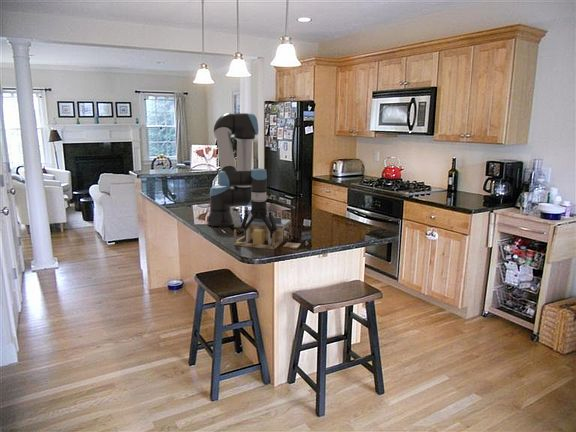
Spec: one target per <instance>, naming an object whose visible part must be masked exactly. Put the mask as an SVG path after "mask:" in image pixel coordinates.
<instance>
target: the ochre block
mask: <svg viewBox="0 0 576 432" xmlns="http://www.w3.org/2000/svg"><path fill="white" fill-rule="evenodd" d="M265 243H266V242H265V229H255V230H253V239H252V244H262V245H265Z"/></svg>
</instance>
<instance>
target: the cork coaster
mask: <svg viewBox="0 0 576 432" xmlns="http://www.w3.org/2000/svg"><path fill="white" fill-rule="evenodd" d="M301 245H302V243H298V242H297V243H296V242H290V241H289V242H288V241H287V242H286V243H285V244H284V245H283V246H282V247H283V248H288V249H298V248H300V246H301Z"/></svg>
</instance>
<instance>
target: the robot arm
mask: <svg viewBox="0 0 576 432" xmlns="http://www.w3.org/2000/svg"><path fill="white" fill-rule="evenodd" d="M213 126H214V127H213V136H214V138H215V139H216V143H217V144H216V145H217V152H218V157H219V165H220V171H218V173H217V180H218V181H217V183H218V184H216V185H213V186H211V187H210V189H209V202H210V203H209V209H210V211H209V215H208V218H207V226H209V225H211V226H210V227H212V226H219V227H218V228H225V227H231V226H233V225H234V218H233V216H232V213H231V207H248V206H250V209H245V210H244V216H243V219H242V222H241V225H240V229H243V236H244V235H245V236H246V239H245V243H250V239H249V229H248V227H249V226H250V224H251V223H252V222H253V220H254V219H262V220H263V221H264V222H265V224H266V226H267V227H268V229H269V232H268V241H267V242H268V243H267V245H272V234H273V232H274V231H276V230H277V227H276V224H275V221H274V218H273V217H274V216H273V215H274V213H273V210H271V211H268V210H267V186H268V184H267V182H268V180H267V179H268V178H267V177H268V174H267V169H265V168H261V167H260V168H259V167H258V168H252V161H253V160H252V158H253V155H252V153H253V141H254V140H256V136H257V135H259V123H258V119H257V115H256V114H254V113H247V112H246V113H245V112H243V113H241V112H240V113H237V112H235V113H232V112H229V113H228V112H227V113H224V114H222V115H221V116H219V118H218V119H217V120H216V122H215V123H214V125H213ZM232 136H234V139H235V140H236V161H235V155H234V149H233V144H232ZM250 214H251V217H250V220H249V219H248V218H249V216H250ZM266 216H269V219H270V222H271V224H270V223H269V221H268V219H267V217H266ZM248 220H249V222H248V223H247V225H246V226H245V224H246V221H248ZM271 225H272V226H271Z"/></svg>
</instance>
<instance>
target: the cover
mask: <svg viewBox="0 0 576 432" xmlns="http://www.w3.org/2000/svg"><path fill="white" fill-rule="evenodd" d="M266 217H267V219H268V221H269V223H270V224H271V222H270V219H269V216H268V215H266ZM273 218H274V221H275V224H276V227H284V226H285V225H287V224H288V223H289V222H291V223H292V220H291V219H284V218H283V219H282V217H281V216H273ZM250 219H251V218H250ZM250 219H247V221H246V224H247V223H248V222H249V220H250ZM250 225H260V226H266V224H265V222H264V221H263V220H262V219H254V220H253V222H252V223H251V224H250ZM271 226H272V225H271Z"/></svg>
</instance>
